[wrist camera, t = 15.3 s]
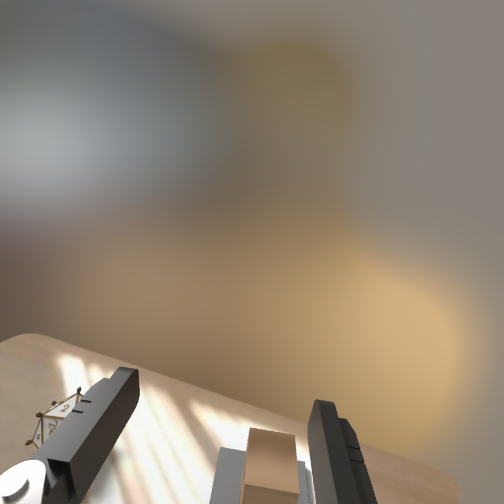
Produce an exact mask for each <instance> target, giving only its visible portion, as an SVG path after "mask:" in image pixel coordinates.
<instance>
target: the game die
mask: <svg viewBox="0 0 504 504" xmlns="http://www.w3.org/2000/svg"><path fill="white" fill-rule="evenodd" d="M80 391H81V387H79V388H78V389H77V393H76V394H74V395H72V396H70V397H68V398H67V399H65V400H63V401H61V402H59V403H57V402H56V401H52V405H53V407H51V408H50V409H49V410H48V411H46V412H45V413H44V414H42V413H40V412H39V413H36V417H38V418H39V417H41V418H40V421H39V424H38V426H37V429H36V432H35V434H34V437H33V439H32V440H29V441H27V442H26V443H25V444H24V445H27V446H28V445H29V444H31V443H32V442H33V443H34V445H35V446H36V447H37V448H38V449H39V448H40V447H41V445H42V444H43V443H44V442H45V441H46V440H47V438H48V437H49V436H50V435H51V434H52V432H53V431H54V430H55V429H56V428H57V427H58V425H59V424H60V423H61V422H62V421H63V419H64V418H65V417H66V416H67V415H68V414H69V412H71V411H72V409H73V408H74V406H75V405H76V404H77V403H78V402H80V400H81V398H82V397H83V395H81V394H80ZM56 403H57V404H56Z"/></svg>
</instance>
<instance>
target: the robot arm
mask: <svg viewBox="0 0 504 504" xmlns="http://www.w3.org/2000/svg"><path fill="white" fill-rule="evenodd" d="M139 396H140V387H139V372H138V369H133V368H127V367H119V368H118V369H117V370H116V371H115V372H114V374H113V375H112V376H111V378H110V379H108V378H103V379H102V380H100V381H99V382H97V383H96V384H95V385H93V386H92V387H91V388H90V389H89V390H88V391H87V392H86V393H85V395H84V396H83V397H82V398H81V400H80V402H78V403H77V404H76V405H75V406H74V408H73V409H72V411H71V412H69V414H68V415H67V416H66V417H65V418H64V419H63V421H62V422H61V423H60V424H59V425H58V427H57V428H56V429H55V430H54V431H53V432H52V434H51V435H50V436H49V437H48V438H47V440H46V441H45V442H44V443H43V444H42V445H41V447H40V448H39V449H38V450H37V451H36V453H35V454H34V455H33V456H32V457H31V458H30V459H29V460H28V461H25V462H23V463H20V464H18V465H16V466H14V467H12V468H11V469H9V470H8V471H6V472H5V473H4V474H3V475H1V476H0V504H80V503H81V501H82V499H83V498H84V496H85V494H86V493H87V491H88V489H89V487H90V486H91V484H92V482H93V481H94V479H95V477H96V475H97V474H98V472H99V470H100V468H101V467H102V465H103V463H104V462H105V460H106V458H107V456H108V455H109V453H110V451H111V450H112V448H113V446H114V444H115V443H116V441H117V439H118V438H119V436H120V434H121V432H122V431H123V429H124V427H125V426H126V424H127V422H128V420H129V419H130V417H131V415H132V413H133V412H134V410H135V408H136V406H137V403H138V400H139ZM308 444H309V452H310V459H311V467H312V475H313V483H314V490H315V498H316V504H378V503H377V500H376V497H375V494H374V490H373V487H372V484H371V481H370V478H369V475H368V471H367V468H366V465H365V464H364V459H363V455H362V452H361V451H360V446H359V443H358V440H357V436H356V433H355V431H354V430H353V429H352V427H351V425H350V424H349V422H348V421H347V420H346V419H343V418H338V415H337V411H336V407H335V404H334V403H333V402H330V401H323V400H317V399H316V400H315V401H314V405H313V409H312V412H311V415H310V419H309V423H308Z"/></svg>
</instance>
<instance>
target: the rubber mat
mask: <svg viewBox="0 0 504 504" xmlns="http://www.w3.org/2000/svg"><path fill="white" fill-rule="evenodd" d="M245 455H246V451H240V450H235V449H229V448H223V447H220V451H219V456H218V462H217V467H216V472H215V477H214V482H213V488H212V493H211V498H210V503H209V504H239V498H240V488H241V480H242V474H243V468H244V461H245ZM297 468H298V480H299V492H300V494H299V498H298V501H297V504H309V498H308V488H307V479H306V470H305V462H303V461H297Z"/></svg>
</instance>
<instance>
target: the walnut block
mask: <svg viewBox="0 0 504 504" xmlns="http://www.w3.org/2000/svg"><path fill="white" fill-rule="evenodd" d="M299 494H300V492H299V480H298V468H297V456H296V443H295V435H291V434H285V433H280V432H274V431H268V430H262V429H256V428H250V431H249V437H248V443H247V449H246V455H245V461H244V468H243V474H242V480H241V488H240V498H239V504H297V501H298V498H299Z"/></svg>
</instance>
